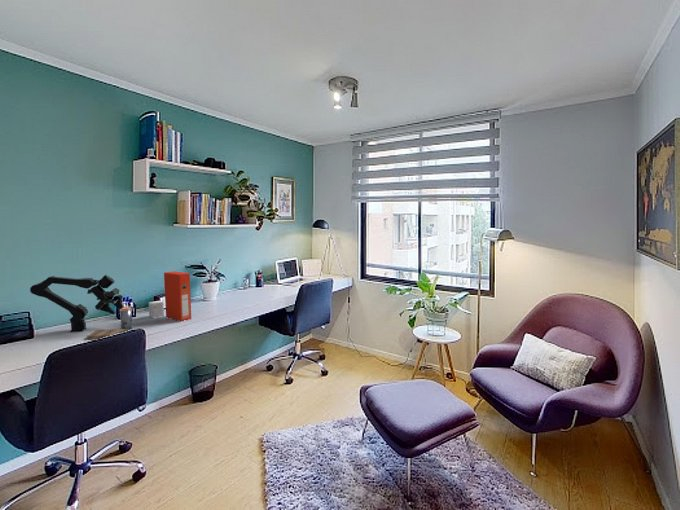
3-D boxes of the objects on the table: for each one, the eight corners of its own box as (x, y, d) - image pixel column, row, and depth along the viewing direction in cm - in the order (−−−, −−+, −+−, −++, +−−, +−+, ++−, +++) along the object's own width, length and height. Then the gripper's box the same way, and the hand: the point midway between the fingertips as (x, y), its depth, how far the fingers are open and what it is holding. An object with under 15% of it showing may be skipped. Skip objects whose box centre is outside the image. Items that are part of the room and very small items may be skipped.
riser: (87, 339, 206) (86, 336, 205) (95, 333, 216) (95, 330, 216) (122, 337, 210) (121, 334, 209) (128, 331, 220) (128, 328, 220)
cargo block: (121, 311, 222) (121, 308, 222) (123, 309, 226) (123, 307, 226) (128, 311, 223) (128, 308, 223) (130, 309, 227) (130, 307, 226)
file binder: (180, 321, 242) (179, 274, 239) (165, 317, 252) (163, 272, 248) (191, 319, 249) (190, 273, 246) (176, 315, 258) (174, 271, 255)
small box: (160, 314, 260) (160, 300, 259) (164, 316, 256) (163, 301, 255) (148, 317, 253) (148, 302, 252) (152, 318, 250) (151, 303, 249)
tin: (119, 331, 222) (118, 311, 221) (123, 328, 228) (122, 309, 226) (130, 330, 223) (129, 311, 222) (133, 327, 229) (132, 309, 228)
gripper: (98, 287, 214) (117, 306, 215) (119, 282, 232) (136, 299, 233) (86, 300, 215) (105, 319, 216) (107, 294, 233) (125, 311, 234)
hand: (119, 311), depth 225 cm, fingers open, 9 cm apart
